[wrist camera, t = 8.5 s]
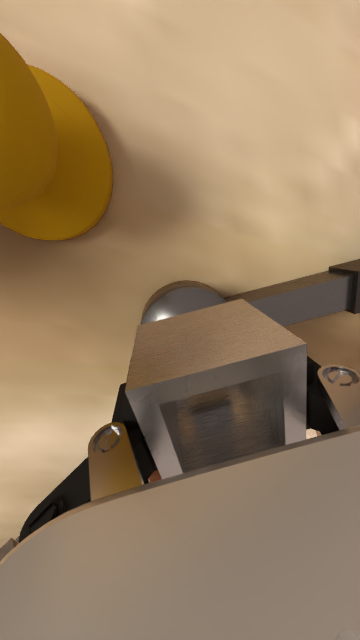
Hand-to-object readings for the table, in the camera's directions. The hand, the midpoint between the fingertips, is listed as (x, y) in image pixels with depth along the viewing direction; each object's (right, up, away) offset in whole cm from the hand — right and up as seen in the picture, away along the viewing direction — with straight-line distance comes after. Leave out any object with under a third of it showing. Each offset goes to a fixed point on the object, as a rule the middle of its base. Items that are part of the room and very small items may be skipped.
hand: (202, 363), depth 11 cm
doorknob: (-9, +11, +1) cm, 15 cm away
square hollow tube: (0, 0, +1) cm, 1 cm away
